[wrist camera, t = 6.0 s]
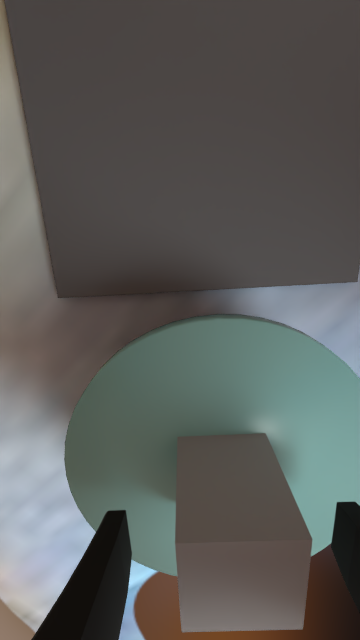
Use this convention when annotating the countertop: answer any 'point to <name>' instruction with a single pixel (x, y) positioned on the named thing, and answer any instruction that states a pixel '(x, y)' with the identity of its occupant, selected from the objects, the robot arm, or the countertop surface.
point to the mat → (193, 141)
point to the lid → (221, 461)
